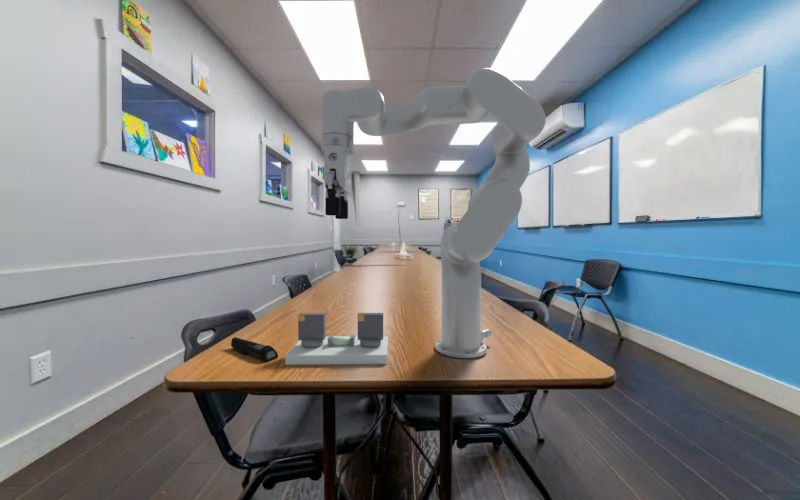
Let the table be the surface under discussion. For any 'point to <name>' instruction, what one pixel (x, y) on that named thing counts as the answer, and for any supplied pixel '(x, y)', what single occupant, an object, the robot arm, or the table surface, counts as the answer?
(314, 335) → the knob
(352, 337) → the level plate
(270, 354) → the electric trimmer
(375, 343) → the knob
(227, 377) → the table surface
